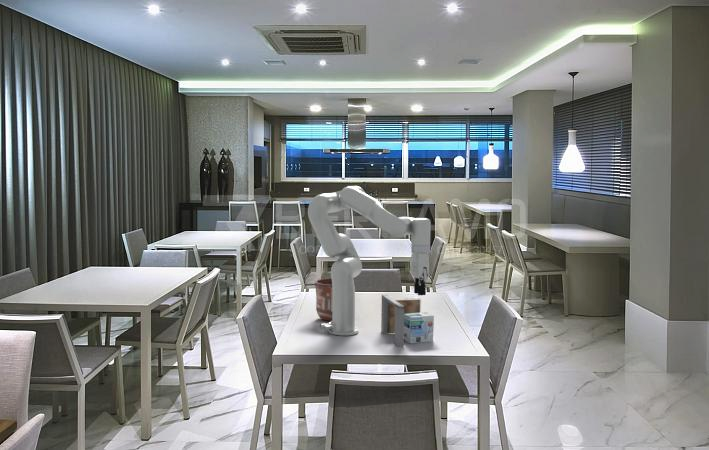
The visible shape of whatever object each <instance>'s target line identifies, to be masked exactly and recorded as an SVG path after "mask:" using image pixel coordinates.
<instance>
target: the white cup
mask: <svg viewBox="0 0 709 450" xmlns="http://www.w3.org/2000/svg"><path fill="white" fill-rule="evenodd" d="M414 299H420V313H422V311H421V310H422V309H421V308H422V298H420V297H415V296H414V297H412V296H410V297H409V296H408V297H404V299H403V300H414Z"/></svg>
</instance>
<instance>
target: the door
mask: <svg viewBox="0 0 709 450" xmlns="http://www.w3.org/2000/svg"><path fill="white" fill-rule="evenodd" d="M420 299H421V298H420ZM420 299H414V300H404V299H394V300H395V301H397V302H398V303H400V304H401V305H403V306H404V314H410V313H421V312H420ZM386 334H395V306H393V305H392V304H390V303H389V302H388V327H387V333H386Z"/></svg>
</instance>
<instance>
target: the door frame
mask: <svg viewBox="0 0 709 450" xmlns="http://www.w3.org/2000/svg"><path fill="white" fill-rule="evenodd" d="M395 300H396V299H394V298H392V297H391V296H389V295H387V294H381V317H380V318H381V321H380V323H381V324H380V326H381V327H380V328H381V329H380V332H381V333H382V334H388V333H387V327H388V302H389V303H390V304H392V305H393V306H395V333H394V341H393V342H394V344H395V346H397V347H400V348H403V347H404V306H403V305H401V304H400V303H398V302H397V301H395Z"/></svg>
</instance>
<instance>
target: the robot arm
mask: <svg viewBox="0 0 709 450" xmlns="http://www.w3.org/2000/svg"><path fill="white" fill-rule="evenodd" d="M348 209H351V210H352V211H354V212H356V213H358V214H359V215H361V216H362V217H364V218H366V219H368V220H369V221H370V222H371V223H372V224H373V225H375V226H376V227H377V228H379V229H380V230H382V231H383V232H386V233H387V234H389V235H391V236H393V237H396V238H397V237H398V238H401V237H404V236H409V235H411V237H410V238H411V240H410V241H411V243H410V248H411V252H410V253H411V257H410V268H409V270H410V271H409V274H410V275H411V276H412V277H413V279H414V280H413V283H414V285H413V288H414V290H413V293H414V294H417V296H425V295H426V290H427V282H428V278H429V277H430V253H431V229H432V227H431V225H432V223H431V219H429V218H427V217H416V218H415V217H408V216H399V217H398V216H397V215H394V214H393V213H391V212H389V211H388V210H386V209H385V208H384V207H383V206H382V203H381V202H380V201H379V200H378V199H376V198H374V197H372V196H370V195H369V194H367V193H366V191H365V190H364V189H363V188H362V187H361V186H358V185H348V186H345V187H343V188H342V190H338V191H335V192H328V193H327V192H326V193H319V194H317V195H315V196H314V197H313V198H312V199H311V201H310V202H309V204H308V208H307V217H308V220H309V223H310V224H311V226H312V228H313V230H314V234H316V238H317V239H318V241H319V244H320V245H321V248H322V250H323V252H324V254H325V255H326V256H327V257H329V258H336V259H337V260H336V261H334V263H332V265H331V269H330V278H332V296H333V304H332V321H331V322H324V323H321V325H320V327H321V329H325V330H328V333H329V334H331V335H332V336H333V335H335V336H345V337H347V336H353V335H356V334H359V329H358V328H357V327H356V323H355V321H356V287H355V280H354V278H357V276H359V275H360V274H361V272H362V271H363V263H362V260H361V258H360V256H359V254H358V252H357V249H356V248H355V245H354V244H353V242H352V240H351V238H350V237H349V236H348V235H346V234H344V233H339V232H338V229H336V227H335V224H334V222H333V221H332V219H331V218H330V217H329V214H332V213H336V212H341V211H344V210H348Z"/></svg>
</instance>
